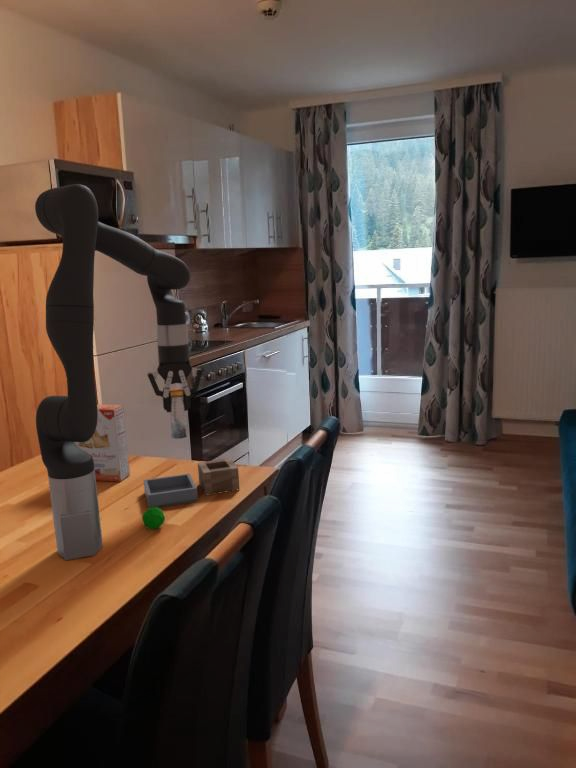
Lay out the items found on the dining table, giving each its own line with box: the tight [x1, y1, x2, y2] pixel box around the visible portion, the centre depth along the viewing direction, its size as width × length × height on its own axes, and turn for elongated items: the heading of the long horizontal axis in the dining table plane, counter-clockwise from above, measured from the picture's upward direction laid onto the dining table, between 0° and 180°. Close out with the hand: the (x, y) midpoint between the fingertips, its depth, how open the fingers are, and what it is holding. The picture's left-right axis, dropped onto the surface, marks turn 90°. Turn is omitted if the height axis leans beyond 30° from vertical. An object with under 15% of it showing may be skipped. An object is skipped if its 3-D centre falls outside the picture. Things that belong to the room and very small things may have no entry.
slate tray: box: [143, 473, 199, 509], centre depth 164 cm, size 12×12×4 cm
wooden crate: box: [197, 457, 240, 496], centre depth 169 cm, size 9×9×6 cm
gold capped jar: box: [168, 388, 188, 440], centre depth 161 cm, size 4×4×12 cm
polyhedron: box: [141, 507, 165, 531], centre depth 145 cm, size 5×5×5 cm
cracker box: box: [75, 403, 131, 483], centre depth 179 cm, size 14×6×21 cm, turn 76°
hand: (177, 410), depth 161 cm, fingers closed on gold capped jar, 4 cm apart
